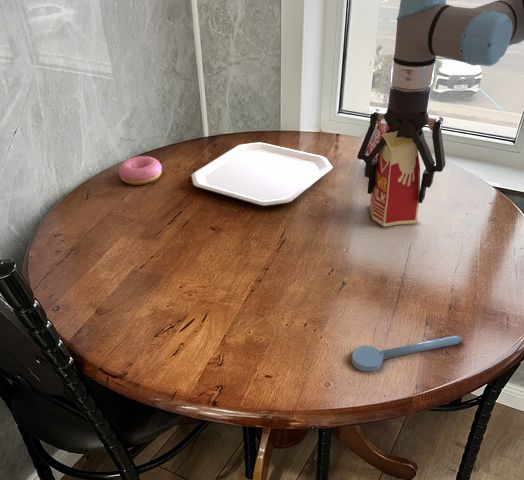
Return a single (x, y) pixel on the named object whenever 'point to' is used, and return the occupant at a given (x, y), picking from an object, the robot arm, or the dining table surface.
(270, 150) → the plate
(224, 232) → the dining table surface
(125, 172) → the doughnut
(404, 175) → the milk carton
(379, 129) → the soda can
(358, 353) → the spoon
